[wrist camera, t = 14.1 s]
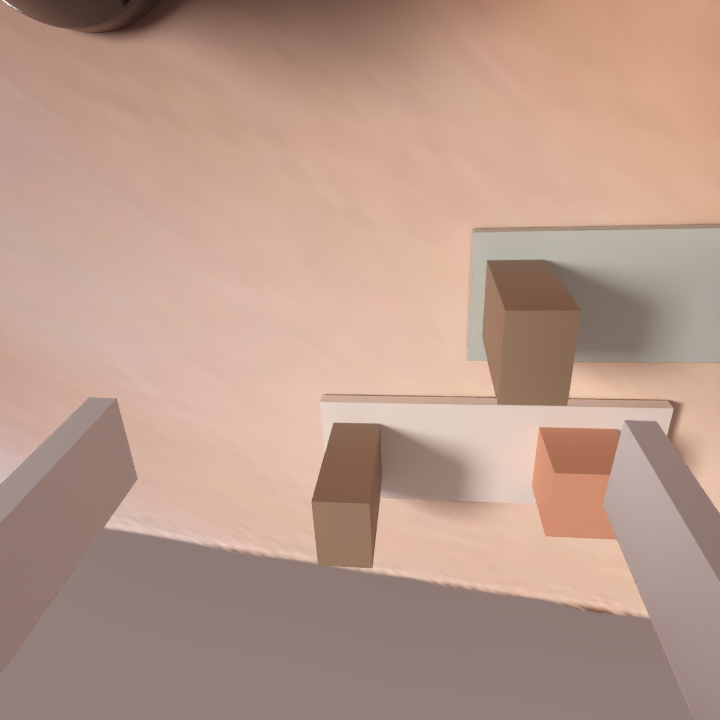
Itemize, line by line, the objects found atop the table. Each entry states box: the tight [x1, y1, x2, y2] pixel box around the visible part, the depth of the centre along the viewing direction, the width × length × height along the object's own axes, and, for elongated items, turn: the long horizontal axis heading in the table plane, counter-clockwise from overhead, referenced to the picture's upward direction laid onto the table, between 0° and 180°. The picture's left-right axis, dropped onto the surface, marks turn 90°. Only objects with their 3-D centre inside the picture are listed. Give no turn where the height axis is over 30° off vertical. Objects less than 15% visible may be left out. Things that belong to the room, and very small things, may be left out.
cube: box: [532, 427, 620, 539], centre depth 43 cm, size 6×6×6 cm
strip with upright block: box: [467, 224, 720, 406], centre depth 35 cm, size 28×10×11 cm, turn 92°
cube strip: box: [312, 395, 674, 568], centre depth 42 cm, size 28×10×11 cm, turn 92°
